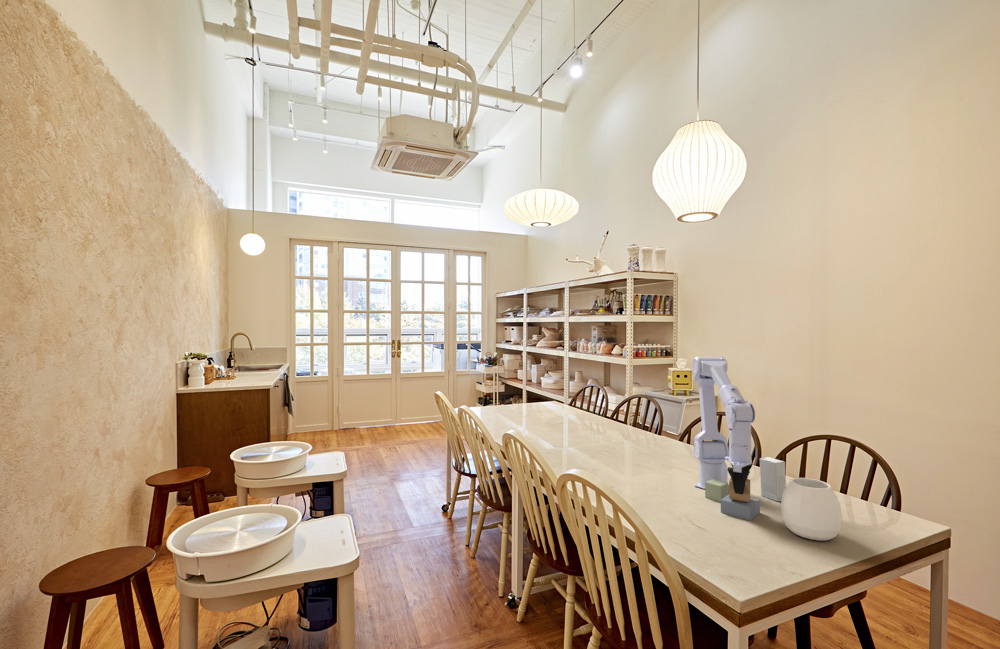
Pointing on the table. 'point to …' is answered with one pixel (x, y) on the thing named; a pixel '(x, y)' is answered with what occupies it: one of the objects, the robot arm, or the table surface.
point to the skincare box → (772, 478)
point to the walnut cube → (739, 496)
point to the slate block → (740, 508)
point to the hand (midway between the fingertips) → (740, 490)
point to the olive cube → (716, 489)
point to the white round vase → (811, 509)
